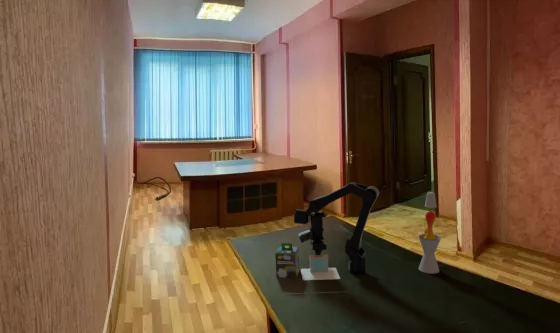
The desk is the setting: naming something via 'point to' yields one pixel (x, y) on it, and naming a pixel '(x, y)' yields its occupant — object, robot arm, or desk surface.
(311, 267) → the block
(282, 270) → the chalk box
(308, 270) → the board
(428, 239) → the lava lamp
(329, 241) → the desk surface
